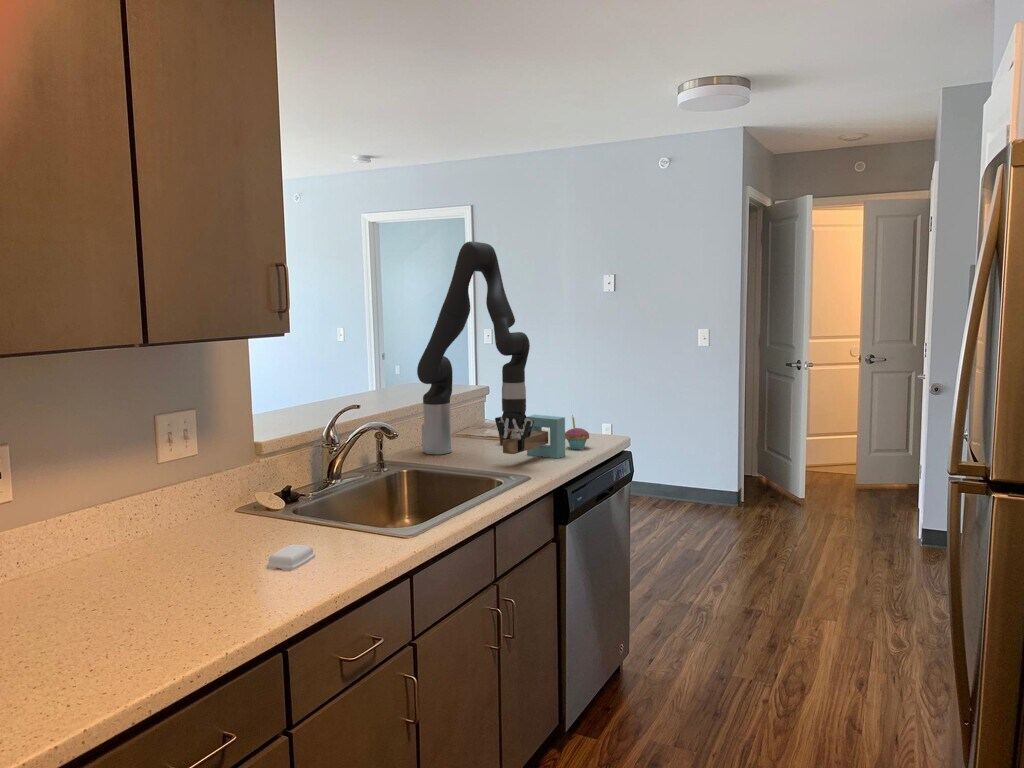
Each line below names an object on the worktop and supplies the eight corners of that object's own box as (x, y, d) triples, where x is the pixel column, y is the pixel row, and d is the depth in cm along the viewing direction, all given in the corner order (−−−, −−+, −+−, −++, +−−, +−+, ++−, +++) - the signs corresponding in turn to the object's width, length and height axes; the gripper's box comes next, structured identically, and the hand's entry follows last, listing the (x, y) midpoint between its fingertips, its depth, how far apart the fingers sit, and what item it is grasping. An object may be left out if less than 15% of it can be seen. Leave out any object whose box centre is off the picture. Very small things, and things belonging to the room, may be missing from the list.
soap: (289, 554, 159) (289, 541, 158) (318, 557, 157) (317, 544, 156) (264, 569, 150) (263, 555, 150) (293, 572, 148) (292, 558, 148)
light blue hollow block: (527, 454, 253) (526, 416, 251) (535, 452, 257) (534, 414, 255) (557, 458, 246) (557, 419, 244) (565, 455, 250) (564, 417, 248)
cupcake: (577, 451, 256) (577, 417, 255) (559, 448, 263) (559, 414, 261) (594, 448, 262) (594, 414, 260) (576, 444, 268) (576, 411, 267)
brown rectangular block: (502, 453, 234) (502, 440, 234) (538, 442, 250) (537, 430, 250) (513, 454, 232) (513, 441, 231) (548, 443, 248) (548, 431, 248)
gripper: (488, 396, 235) (489, 450, 237) (525, 399, 227) (526, 455, 229) (502, 393, 241) (503, 446, 243) (539, 396, 233) (540, 450, 235)
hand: (514, 450), depth 236 cm, fingers closed on brown rectangular block, 4 cm apart
